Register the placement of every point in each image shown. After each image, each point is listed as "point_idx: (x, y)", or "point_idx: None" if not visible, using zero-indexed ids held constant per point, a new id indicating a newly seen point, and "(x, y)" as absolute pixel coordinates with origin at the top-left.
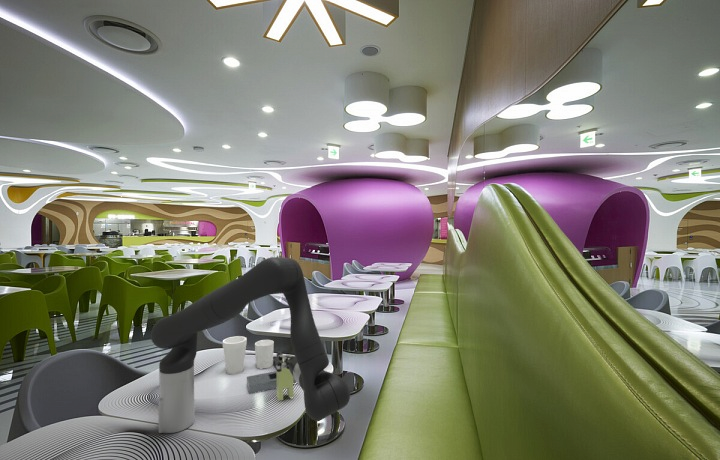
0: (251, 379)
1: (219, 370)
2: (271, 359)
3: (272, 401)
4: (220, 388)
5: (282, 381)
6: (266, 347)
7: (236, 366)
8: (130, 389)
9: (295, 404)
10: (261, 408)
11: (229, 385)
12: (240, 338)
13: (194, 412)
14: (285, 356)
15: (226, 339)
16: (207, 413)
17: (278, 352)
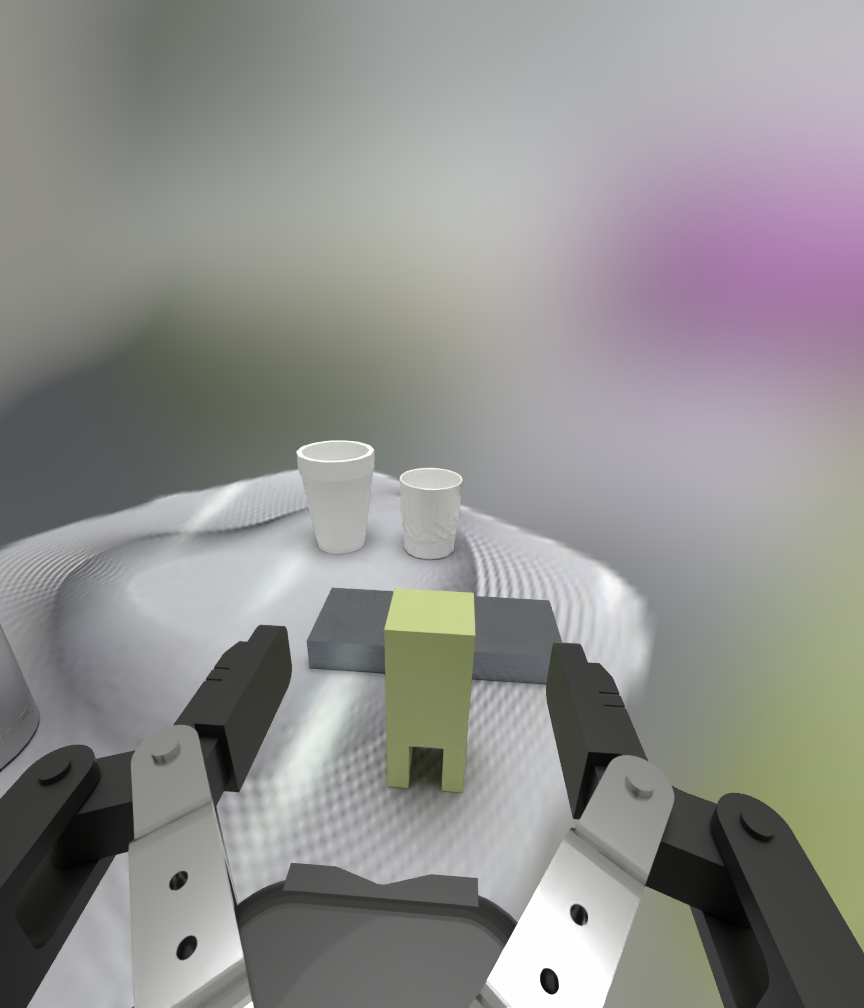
0: (336, 608)
1: (307, 529)
2: (448, 536)
3: (361, 768)
4: (253, 600)
5: (406, 715)
6: (431, 495)
7: (335, 534)
8: (85, 528)
9: (456, 865)
10: (288, 807)
11: (285, 596)
12: (361, 450)
13: (10, 728)
14: (134, 875)
15: (318, 445)
16: (98, 727)
17: (253, 641)
